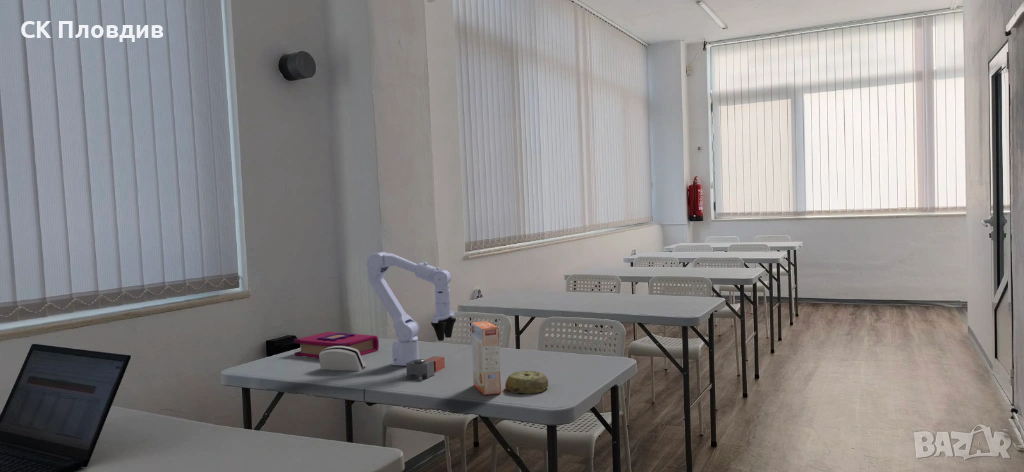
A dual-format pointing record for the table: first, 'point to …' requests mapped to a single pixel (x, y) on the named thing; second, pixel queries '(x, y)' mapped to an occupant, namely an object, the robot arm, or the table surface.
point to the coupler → (419, 369)
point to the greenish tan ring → (526, 382)
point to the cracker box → (486, 357)
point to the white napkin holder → (341, 359)
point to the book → (336, 343)
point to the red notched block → (437, 363)
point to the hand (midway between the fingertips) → (444, 339)
